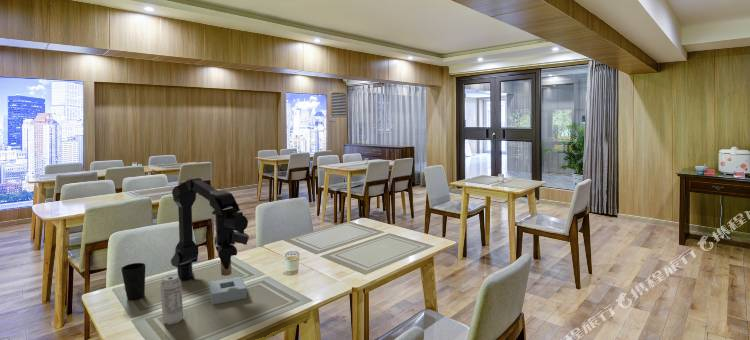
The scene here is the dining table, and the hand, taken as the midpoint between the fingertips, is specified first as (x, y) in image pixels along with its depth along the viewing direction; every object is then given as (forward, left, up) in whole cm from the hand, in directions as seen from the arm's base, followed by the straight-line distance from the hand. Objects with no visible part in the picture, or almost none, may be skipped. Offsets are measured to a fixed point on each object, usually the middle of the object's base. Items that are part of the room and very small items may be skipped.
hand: (226, 267), depth 151 cm
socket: (0, 0, -11) cm, 11 cm away
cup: (-13, -31, -11) cm, 35 cm away
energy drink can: (+13, -18, -11) cm, 25 cm away
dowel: (0, 0, -3) cm, 2 cm away
